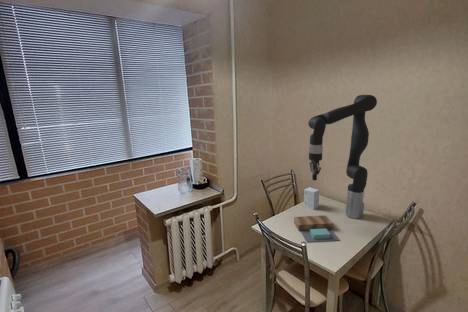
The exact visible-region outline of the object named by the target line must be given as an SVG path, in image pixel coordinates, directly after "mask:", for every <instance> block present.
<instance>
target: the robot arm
mask: <svg viewBox="0 0 468 312" xmlns="http://www.w3.org/2000/svg"><path fill="white" fill-rule="evenodd" d="M377 104H378V100H377V97H376V96H374V95H372V94H359V95H357V96H356V97H355V98H354V100H353V103H352V104H347V105H344V106H342V107H341V106H340V107H337V108H333V109H332V110H329V111H327V112H325V113H323V114H322V113H321V114H317V115H315V116H312V117H311V118H309V120H308V122H307V123H308V126H309V128H310V129H312V130H313V132H312V134H310V136H309V145H308V146H309V147H308V160H310V161H311V162H309V167H310V172H311V174H312V176H311V180H312V181H317V180H318V179H317V178H318V175H319V174H320V172H321V170H322V167H320V161H322V160H323V150H324V149H323V148H324V147H323V141H324V140H323V138H324V134H325V131H326V128H327V125H332V124H334V123H338V122H340V121H342V120H343V119H346V118H349V117H352V120H353V121H352V128H351V129H352V131H351V138H350V139H351V140H350V149H349V156H348V161H347V166H346V169H345V170H346V171H345V173H346V176H347V177H348V178H349V179H352V183H349V184H348V185H347V193H346V205H345V206H346V207H345V215H346V217H347V218H351V219H354V220H355V219H356V220H358V219H361V218H363V217H364V210H365V202H364V196H365V195H364V194H365V189H366V186H367V181H368V175H369V174H368V169H367V168H365V167H364V166H362V165H360V160H361V156H362V154H363V153H364V151H365V150H366V148H367V147H368V145H369V144H368V143H369V138H370V137H369V135H370V132H369V128H368V126H367V123H366V112H369V111H370V112H371V111H372V110H374V109H375V108H376V106H377Z"/></svg>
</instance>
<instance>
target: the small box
mask: <svg viewBox="0 0 468 312" xmlns="http://www.w3.org/2000/svg"><path fill="white" fill-rule="evenodd" d="M303 192H304V195H303V196H304V197H303V207H305V208H307V209H309V210H313V211H314V210H316V209H318V208H319V207H320V206H319V205H320V203H319V202H320V189H317V188H313V187H310V186H309V187H307V188H305V189H304V190H303Z"/></svg>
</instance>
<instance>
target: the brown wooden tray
mask: <svg viewBox="0 0 468 312" xmlns="http://www.w3.org/2000/svg"><path fill="white" fill-rule="evenodd" d="M293 224H294V226H295V227H296V229H297V231H298V232H301V231H310V229H327V230H332V231H333V229H334V223H333V221H332V220H331V219H330V218H329V217H328V216H327V215H326V214H325V215H323V214H322V215H307V216H302V215H301V216H293Z"/></svg>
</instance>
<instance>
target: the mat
mask: <svg viewBox="0 0 468 312" xmlns="http://www.w3.org/2000/svg"><path fill="white" fill-rule="evenodd" d="M327 231H328V232H329V233H330V238H326V239H313V237H312V236H311V234H310V231H300V233H301V235H302V237H303V238H304V240H305V241H306V243H320V242H321V243H324V242H340V241H341V239H340V238H339V236H337V234H336V233H335V232H334V231H333V230H327Z"/></svg>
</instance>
